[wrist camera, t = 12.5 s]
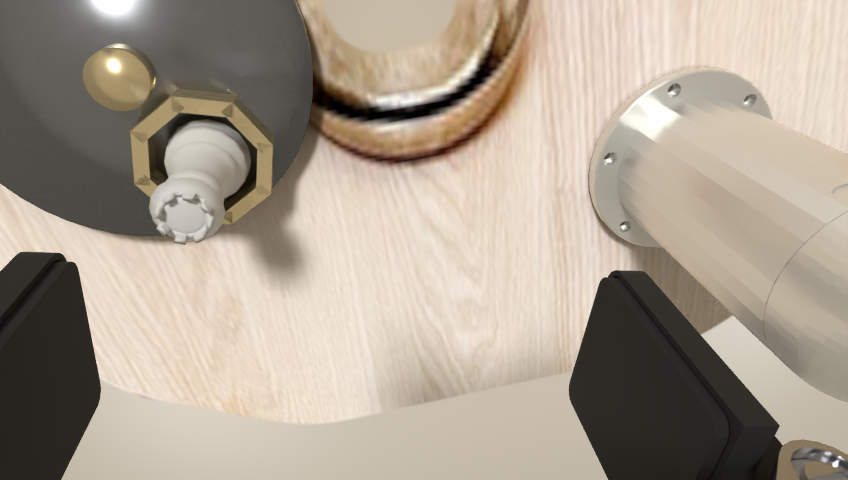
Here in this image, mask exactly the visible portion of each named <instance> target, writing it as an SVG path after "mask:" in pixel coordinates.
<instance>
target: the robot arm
mask: <svg viewBox="0 0 848 480" xmlns="http://www.w3.org/2000/svg"><path fill="white" fill-rule="evenodd" d="M589 190H590V194H591V198H592V202H593V205H594V207H595V209H596V211H597V213H598V215H599V217H600V218H601V219H602V220H603V222H604V223H605V224H606V225H607V226H608V227H609V228H610V229H611V230H612V231H613V232H614V233H615V234H616V235H617V236H619V237H620V238H622V239H624V240H626V241H628V242H630V243H632V244H636V245H640V246H643V247H655V248H662V247H663V248H664V249H665V250H666V251H667V252H668V253H669V254H670V255H671V256H672V257H673V258H674V259H675V260H676V261H677V262H678V263H680V264H681V265H682V266H683V267H684V268H685V269H686V270H687V271H688V272H689V273H690V274H691V275H692V276H693V277H694V278H695V279H696V280H697V281H698V282H699V283H700V284H701V285H702V286H703V287H705V288H706V289H707V290H708V291H709V292H710V293H711V294H712V295H713V296H714V297H715V298H716V299H717V300H718V301H719V302H720V303H721V304H722V305H723V306H724V307H725V308H726V309H727V310H728V311H730V312H731V313H732V314H733V315H734V316H735V317H736V318H737V319H738V320H739V321H740V322H741V323H742V324H743V325H744V326H745V327H746V328H747V329H748V330H749V331H750V332H751V333H752V334H754V335H755V336H756V337H757V338H758V339H759V340H760V341H761V342H762V343H763V344H764V345H765V346H766V347H767V348H769V349H770V350H771V351H772V352H773V353H774V354H775V355H776V356H777V357H778V358H779V359H780V360H781V361H782V362H783V363H784V364H785V365H786V366H787V367H788V368H790V369H791V370H792V371H793V372H794V373H795V374H797V375H798V376H799V377H800V378H801V379H803V380H804V381H805V382H807V383H808V384H810V385H811V386H813V387H815V388H816V389H817V390H819V391H821V392H823V393H825V394H828V395H830V396H832V397H834V398H836V399H839V400H842V401H845V402H848V154H845V153H843V152H841V151H839V150H837V149H834V148H832V147H830V146H828V145H826V144H823V143H821V142H819V141H817V140H815V139H812V138H810V137H808V136H806V135H804V134H801V133H799V132H797V131H795V130H792V129H790V128H788V127H786V126H784V125H781V124H779V123H777V122H775V121H773V120H772V116H771V112H770V109H769V106H768V104H767V102H766V100H765V99H764V97H763V95H762V93H761V92H760V91H759V90H758V89H757V88H756V87H755V86H754V85H753V84H752V83H751V82H749V81H747V80H746V79H744V78H742V77H740V76H739V75H737V74H734V73H731V72H728V71H726V70H723V69H717V68H710V67H696V68H686V69H683V70H679V71H675V72H672V73H669V74H666V75H664V76H662V77H660V78H658V79H656V80H654V81H652V82H650V83H649V84H647V85H646V86H644V87H643V88H641V89H640V90H639V91H637V92H636V93H634V94H633V95H632V96H631V97H630V98H629V99H628V100H627V101H626V102H625V103H624V104H623V105H622V106H621V107H620V108H619V109H618V110H617V112H616V113H615V114H614V115H613V117H612V118H611V119H610V120H609V122H608V123H607V125H606V127H605V128H604V130H603V132H602V134H601V136H600V137H599V139H598V142H597V144H596V147H595V150H594V153H593V156H592V160H591V166H590V172H589ZM100 392H101V386H100V379H99V374H98V369H97V364H96V359H95V354H94V349H93V343H92V338H91V333H90V328H89V323H88V318H87V312H86V307H85V302H84V297H83V292H82V287H81V282H80V276H79V271H78V268H77V266H76V264H75V263H74V262H67V261H66V259H65V257H64V256H63V255H62V254H61V253H44V252H20V253H19V254H17V255H16V256H15V257H14V258H13V259H12V260H11V261H10V262H9V263H8V264H7V265H6V266H5V267H4V268H3V269H2V270H1V271H0V480H61V479H62V477H63V475H64V472H65V470H66V468H67V466H68V464H69V462H70V460H71V458H72V456H73V454H74V452H75V450H76V448H77V446H78V444H79V442H80V440H81V438H82V436H83V434H84V432H85V430H86V428H87V426H88V424H89V422H90V420H91V418H92V416H93V414H94V412H95V410H96V408H97V406H98V403H99V400H100ZM569 396H570V400H571V403H572V405H573V407H574V409H575V411H576V413H577V416H578V418H579V420H580V422H581V424H582V426H583V428H584V430H585V432H586V434H587V436H588V438H589V441H590V443H591V445H592V447H593V449H594V451H595V453H596V455H597V457H598V459H599V461H600V463H601V465H602V467H603V469H604V471H605V474H606V476H607V478H608V480H848V455H847V454H845V453H843V452H842V451H840V450H838V449H836V448H834V447H831V446H828V445H825V444H822V443H819V442H814V441H809V440H794V441H790V442H788V443H786V444H784V445H782V444H781V443H780V442H779V441H778V439H777V438H776V437H775V434H776V432H777V430H778V428H779V424H778V423H777V422H776V421H775V420H774V419H773V418H772V416H771V415H770V414H769V413H768V412H767V411H766V410H765V408H764V407H763V406H762V405H761V404H760V403H759V401H758V400H757V399H756V398H755V397H754V396H753V395H752V393H751V392H750V391H749V390H748V389H747V388H746V387H745V385H744V384H743V383H742V382H741V381H740V380H739V379H738V378H737V376H736V375H735V374H734V373H733V372H732V371H731V369H729V367H728V366H727V365H726V364H725V363H724V362H723V360H722V359H721V358H720V357H719V356H718V355H717V354H716V352H715V351H714V350H713V349H712V348H711V347H710V346H709V344H708V343H707V342H706V341H705V340H704V339H703V337H702V336H701V335H700V334H699V333H698V332H697V331H696V329H695V328H694V327H693V326H692V325H691V324H690V323H689V321H688V320H687V319H686V318H685V317H684V316H683V315H682V313H681V312H680V311H679V310H678V309H677V308H676V307H675V305H674V304H673V303H672V302H671V301H670V300H669V299H668V297H667V296H666V295H665V294H664V293H663V292H662V291H661V289H660V288H659V287H658V286H657V285H656V284H655V283H654V281H653V280H652V279H651V278H650V277H649V276H648V275H647V274H646V273H645V272H642V271H618V270H615V271H613V272H611V273H610V275H609V276H608V278H606V277H605V278H603V279H602V280H601V281H600V284H599V287H598V290H597V293H596V297H595V300H594V303H593V307H592V310H591V313H590V317H589V320H588V323H587V327H586V330H585V333H584V337H583V340H582V343H581V347H580V350H579V353H578V357H577V360H576V363H575V367H574V370H573V374H572V377H571V380H570V384H569Z"/></svg>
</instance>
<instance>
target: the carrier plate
mask: <svg viewBox="0 0 848 480" xmlns="http://www.w3.org/2000/svg"><path fill="white" fill-rule="evenodd" d="M312 97H313V64H312V56H311V48H310V42H309V38H308V34H307V30H306V26H305V22H304V19H303V16H302V14H301V11H300V9H299V6H298V4H297V1H296V0H0V184H2V185H3V186H5V187H6V188H8V189H9V190H11V191H12V192H13V193H15V194H16V195H18V196H19V197H21V198H22V199H24V200H26V201H28V202H30V203H31V204H33V205H35V206H37V207H39V208H40V209H42V210H44V211H46V212H49V213H51V214H53V215H56V216H58V217H60V218H63V219H65V220H67V221H70V222H73V223H76V224H79V225H83V226H86V227H89V228H92V229H97V230H102V231H106V232H111V233H117V234H126V235H135V236H162V234H161V233H160V232H159V231H158V230H157V229H156V228H157V225H156V224H155V223H154V221H153V219H152V216H151V213H150V210H149V205H150V199H151V195H152V194H153V192H154V191H155V190H156V188H157V187H158V186H159V185H160V184H162V183H164V182H166V180H167V179H168V178H169V177H168V174H167V171H166V167H165V164H164V158H165V152H166V147H167V145H168V141H169V139H170V138H171V136H172V135H173V134H174V132H175V131H176V130H177V128H179V127H181V126H183V125H185V124H186V123H188V122H190V121H195V120H205V119H209V120H213V121H217V122H220V123H224V124H226V125H227V126H229V127H230V128H232V129H233V130H235V131H236V132H238V133H239V134H240V136H241V137H242V139H243V140H244V142H245V143H246V144H247V146H248V149H249V153H250V158H251V164H250V169H249V173H248V176H247V177H246V180H245V182H244V183H243V184H242V186H241V187H240V188H239V189H238V191H237V192H236V193H234V194H232V195H230V196H228V197H226V198H225V199H224V202H223V205H224V209H225V216H224V221H223V224H231V225H232V224H233V223H234V222H236V221H237V220H238V219H240V218H241V217H242V216H243V215H245V214H246V213H247V212H249V211H250V210H251V209H253V208H254V207H255V206H256V205H258V204H259V203H260V202H262V201H263V200H264V199H265V198H267V197H268V196H269V195H271V192H272V188H273V187H274V185H275V184H276V183H277V182H278V181H279V179H280V178H281V177H282V176H283V175H284V174H285V172H286V170H287V169H288V167H289V166H290V164H291V163H292V161H293V159H294V158H295V156H296V154H297V152H298V149H299V147H300V145H301V143H302V140H303V138H304V135H305V132H306V128H307V125H308V121H309V118H310V111H311V104H312ZM166 235H168V234H166Z"/></svg>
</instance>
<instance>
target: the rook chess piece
mask: <svg viewBox="0 0 848 480" xmlns="http://www.w3.org/2000/svg"><path fill="white" fill-rule="evenodd" d="M164 164H165V167H166V171H167V174H168V177H169V178H168V179H167V180H166V182H164V183H162V184H160V185H159V186H158V187H157V188H156V190H155V191H154V192H153V194H152V195H151V199H150V205H149V210H150V213H151V216H152V219H153V221H154V223H155V224H156V225H157V228H156V229H157V230H158V231H159V232H160V233H161V234H162V236H163V237H164V236H165V235H166V234H168V235H169V236H171V237H173V238H175V240H174V243H179V244H184V245H185V244H186V241H189V242H190V241H195V242H196V243H198V242H200V241H202V240H204V239H206V238H208V237H210V236H212V235H214V234H215V233H216V232H217V231H218V229H219V228H220V227H221V226H222V224H223V221H224V216H225V209H224V205H223V202H224V199H225V198H226V197H228V196H230V195H232V194H234V193H236V192H237V191H238V189H239V188H240V187H241V186H242V184H243V183H244V182H245V180H246V177H247V176H248V173H249V169H250V164H251V158H250V153H249V149H248V146H247V144H246V143H245V142H244V140H243V139H242V137H241V136H240V134H239V133H238V132H236V131H235V130H233V129H232V128H230V127H229V126H227V125H226V124H224V123H220V122H217V121H213V120H209V119H205V120H195V121H190V122H188V123H186V124H185V125H183V126H181V127H179V128H177V130H176V131H175V132H174V134H173V135H172V136H171V138H170V139H169V141H168V145H167V147H166V152H165V158H164Z"/></svg>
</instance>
